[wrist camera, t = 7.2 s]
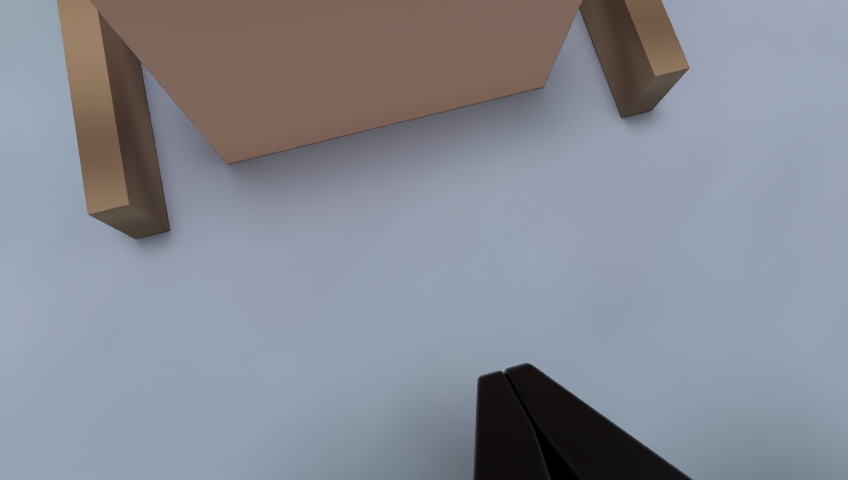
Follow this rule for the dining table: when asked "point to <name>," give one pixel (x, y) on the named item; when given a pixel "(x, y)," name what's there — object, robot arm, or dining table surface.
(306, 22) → the t block
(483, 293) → the dining table surface
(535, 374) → the robot arm
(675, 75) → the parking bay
